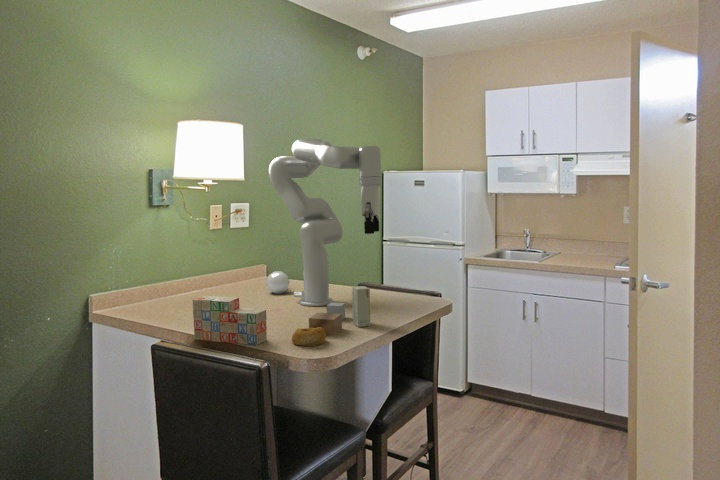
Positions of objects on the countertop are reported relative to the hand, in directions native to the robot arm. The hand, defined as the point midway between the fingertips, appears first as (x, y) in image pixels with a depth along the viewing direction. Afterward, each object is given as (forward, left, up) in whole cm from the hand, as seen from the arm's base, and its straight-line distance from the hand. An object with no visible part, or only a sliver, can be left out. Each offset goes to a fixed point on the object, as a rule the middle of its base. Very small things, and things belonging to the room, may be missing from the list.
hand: (372, 232), depth 202 cm
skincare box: (0, -15, -29) cm, 33 cm away
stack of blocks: (-34, -40, -29) cm, 60 cm away
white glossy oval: (-48, +32, -29) cm, 65 cm away
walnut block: (-9, -25, -29) cm, 39 cm away
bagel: (-10, -38, -29) cm, 49 cm away
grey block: (-11, -9, -29) cm, 32 cm away
